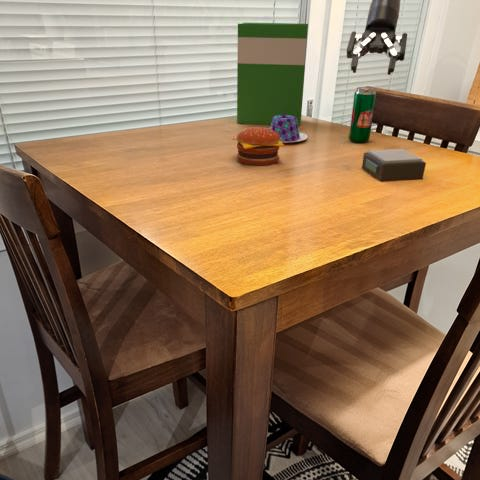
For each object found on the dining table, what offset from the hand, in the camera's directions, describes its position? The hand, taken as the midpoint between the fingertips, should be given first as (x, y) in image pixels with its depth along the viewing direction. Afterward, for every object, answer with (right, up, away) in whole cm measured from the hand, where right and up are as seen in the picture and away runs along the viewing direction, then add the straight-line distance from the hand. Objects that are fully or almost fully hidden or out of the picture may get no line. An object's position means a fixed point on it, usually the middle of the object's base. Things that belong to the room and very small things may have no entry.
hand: (371, 71), depth 123 cm
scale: (-2, -32, -22) cm, 39 cm away
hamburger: (-29, -27, -15) cm, 42 cm away
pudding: (-22, -17, +1) cm, 27 cm away
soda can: (-3, -17, 0) cm, 18 cm away
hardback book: (-24, -5, +18) cm, 31 cm away
